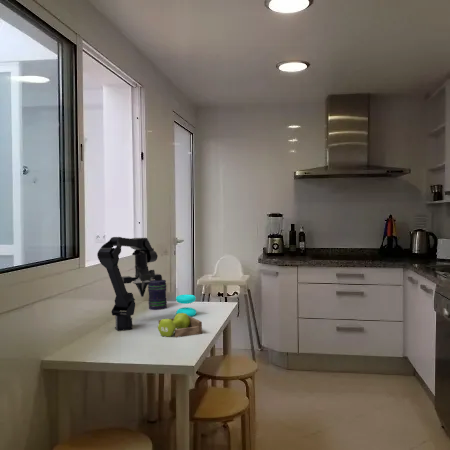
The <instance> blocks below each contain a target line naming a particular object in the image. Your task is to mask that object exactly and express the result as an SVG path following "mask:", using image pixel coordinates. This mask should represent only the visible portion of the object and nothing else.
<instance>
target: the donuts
mask: <svg viewBox="0 0 450 450" xmlns="http://www.w3.org/2000/svg"><path fill="white" fill-rule="evenodd" d="M196 299H197V297H196V296H195V295H193V294H186V293H185V294H179V295H176V297H175V301H176V302H177V303H179V304H183V305H185V304H192V303H194V302H195V301H196ZM178 313H185V314H187V315H188V316H190V317H194V316H195V315H196V314H197V310H196V309H195V308H193V307H187V306H186V307H180V308H178V309H177V310H176V312H175V315H176V314H178Z"/></svg>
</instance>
